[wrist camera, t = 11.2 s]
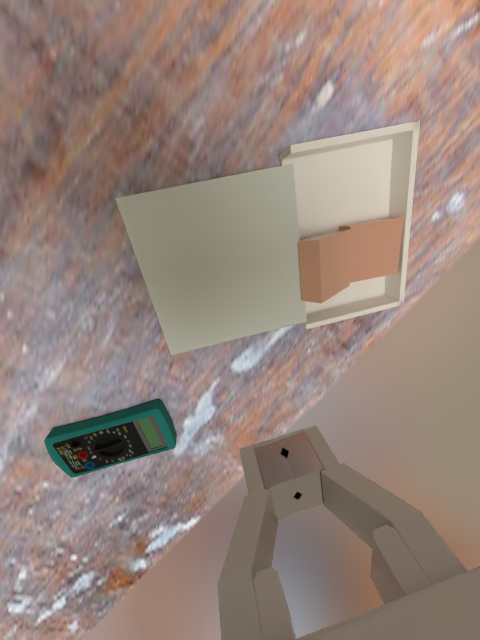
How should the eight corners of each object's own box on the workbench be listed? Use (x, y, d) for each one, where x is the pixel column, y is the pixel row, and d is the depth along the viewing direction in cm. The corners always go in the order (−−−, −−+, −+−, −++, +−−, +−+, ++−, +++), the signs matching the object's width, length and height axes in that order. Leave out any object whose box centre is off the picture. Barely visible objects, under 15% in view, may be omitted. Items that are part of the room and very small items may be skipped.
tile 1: (403, 216, 25) (388, 217, 27) (350, 226, 25) (338, 225, 27) (397, 273, 28) (383, 269, 30) (348, 283, 27) (338, 278, 29)
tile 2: (298, 241, 23) (319, 239, 21) (330, 231, 26) (350, 229, 25) (302, 300, 25) (321, 303, 24) (331, 284, 29) (349, 285, 27)
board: (127, 202, 23) (114, 198, 19) (278, 172, 24) (293, 163, 20) (174, 338, 29) (171, 355, 25) (293, 309, 30) (306, 321, 26)
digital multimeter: (48, 426, 31) (34, 446, 28) (162, 395, 32) (159, 411, 29) (75, 463, 34) (65, 484, 31) (179, 433, 35) (177, 451, 32)
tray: (279, 154, 24) (290, 145, 21) (394, 132, 25) (420, 120, 22) (296, 319, 31) (306, 329, 28) (385, 297, 32) (403, 304, 29)
